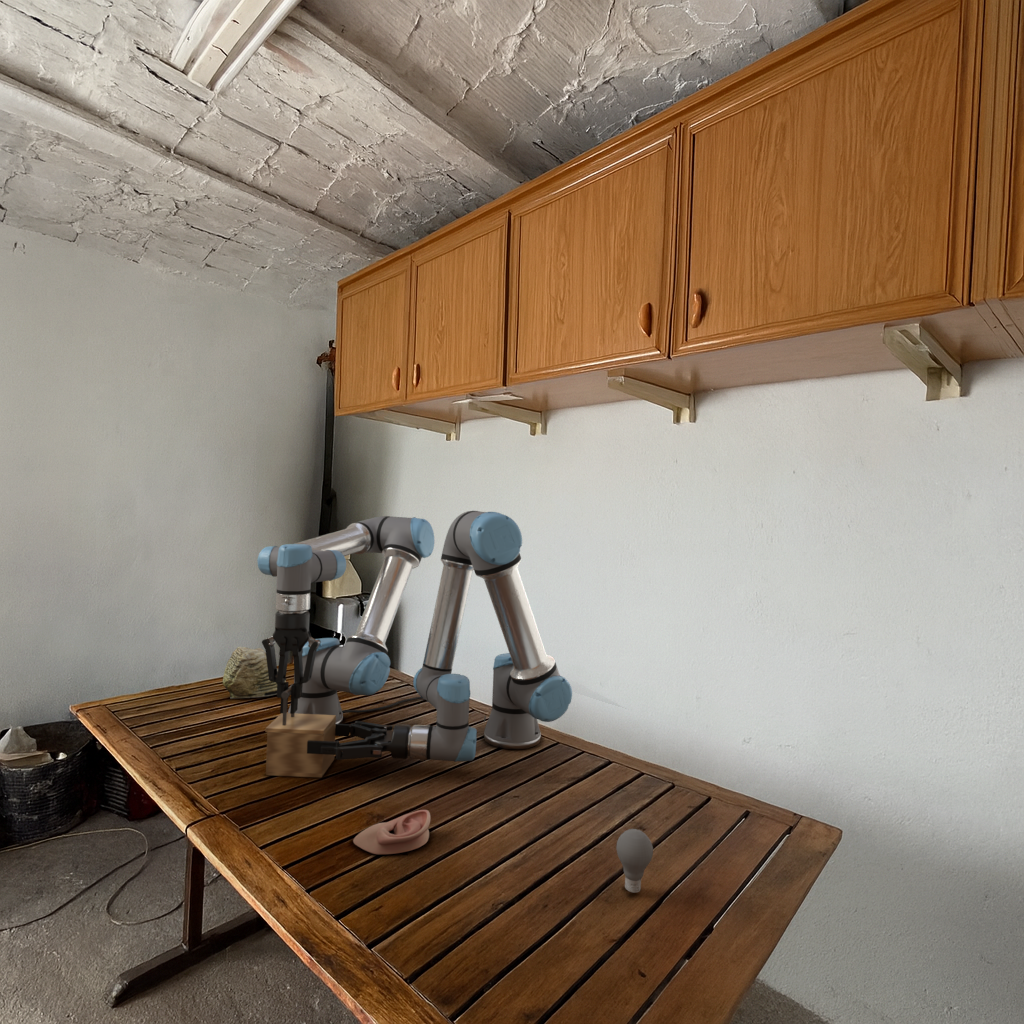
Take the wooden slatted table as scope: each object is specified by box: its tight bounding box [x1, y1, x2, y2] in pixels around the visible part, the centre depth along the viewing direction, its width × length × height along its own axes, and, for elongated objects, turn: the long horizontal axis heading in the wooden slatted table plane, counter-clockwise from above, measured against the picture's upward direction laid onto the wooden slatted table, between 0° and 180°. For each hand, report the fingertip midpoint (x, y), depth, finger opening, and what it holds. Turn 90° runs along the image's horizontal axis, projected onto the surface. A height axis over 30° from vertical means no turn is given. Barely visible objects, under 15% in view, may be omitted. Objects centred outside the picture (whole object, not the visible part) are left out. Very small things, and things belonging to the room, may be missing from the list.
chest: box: [265, 719, 336, 778], centre depth 148 cm, size 13×10×10 cm
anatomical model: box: [352, 809, 431, 856], centre depth 118 cm, size 13×4×12 cm
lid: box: [265, 683, 336, 734], centre depth 148 cm, size 13×10×9 cm
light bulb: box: [615, 828, 654, 894], centre depth 106 cm, size 6×6×10 cm
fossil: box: [222, 646, 287, 699], centre depth 198 cm, size 9×18×15 cm, turn 132°
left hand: (288, 711), depth 148 cm, fingers closed on lid, 2 cm apart
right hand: (315, 737), depth 148 cm, fingers closed on chest, 10 cm apart
